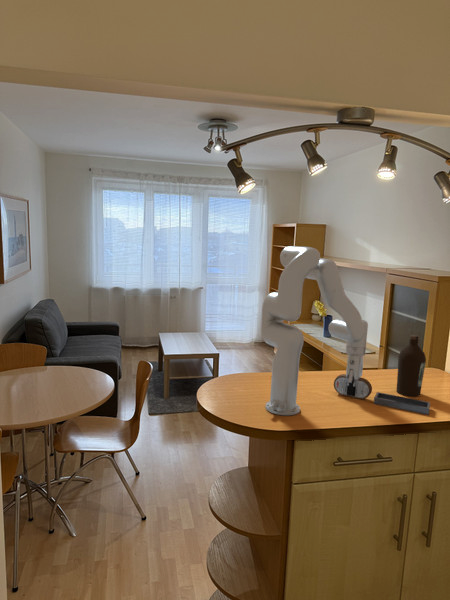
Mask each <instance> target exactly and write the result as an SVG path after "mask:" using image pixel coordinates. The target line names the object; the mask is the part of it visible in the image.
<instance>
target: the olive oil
mask: <svg viewBox="0 0 450 600" xmlns="http://www.w3.org/2000/svg"><path fill="white" fill-rule="evenodd" d="M419 337H420V336H419V335H416V334H411V335H410V338H409V344H408V345H406V346H405V347H404V348H403V349H401V350H400V351H399V354H398V358H397V359H398V362H397V376H396V377H397V378H396V380H397V381H396V391H395V392H396V393H397V394H400V396H401V395H402V396H403V397H408V398H409V397H410V398H411V397H412V398H416V397H417V398H418V397H420V396H421V392H422V387H423V386H422V385H423V380H424V374H425V368H426V364H427V363H426V361H427V357H426V354H425V352H424V351H423V350H422V349H421V347H420V346H419V341H420V339H419Z"/></svg>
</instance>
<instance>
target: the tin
mask: <svg viewBox="0 0 450 600" xmlns="http://www.w3.org/2000/svg"><path fill="white" fill-rule="evenodd" d="M353 378H354V377H353ZM352 381H353V382H354V380H352ZM347 385H348V379H347V378H346V373H343V374H339V375H338V376H336V377H335V379H334V381H333V388H334V390H335V391H336V393H338V394H339V395H341V396H345V397H349V398H355V399H358V400H365V399H367V398H368V397H369V396H370V395H371V394H372V392H373V387H372V384H371V382H370V381H369V380H368V379H366V378H364V377H360V379H359V380H356V382H355V386H356V390H355V396H351V395H347Z"/></svg>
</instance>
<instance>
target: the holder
mask: <svg viewBox="0 0 450 600" xmlns="http://www.w3.org/2000/svg"><path fill="white" fill-rule="evenodd" d="M373 404H374V405H377V406H378V405H379V406H383V407H387V408H392V409H397V410H398V409H399V410H402V411H406V412H412V413H417V414H422V415H427V416H429V413H430V408H431V407H430V406H431V401H425V400H421V399H414V398H411V397H410V398H409V397H406V396H401V395H400V396H399V395H394V394H389V393H385V392H379V391H376V394H375V395H374V398H373Z"/></svg>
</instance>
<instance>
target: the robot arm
mask: <svg viewBox="0 0 450 600" xmlns="http://www.w3.org/2000/svg"><path fill="white" fill-rule="evenodd" d="M279 259H280V260H279V261H280V264H281V265H282V266H283V267H284V269H283V270H282V272H281V273H280V276H279V280H278V289H277V291H273V292H270V293H268V294H267V295H266V296H265V298H264V299H263V302H262V308H261V331H260V332H261V337H262V339H263V342H265V343H266V344H267V345H269V346H271V347H274V348H275V349H276V351H275V354H274V355H273V359H272V364H271V382H270V383H271V384H270V397H269V401H267V402H266V403H265V409H266V411H268V412H270V413H271V414H275V415H278V416H295V415H297V414H299V413H300V411H301V407H300V405H298V403H297V398H298V397H297V395H298V381H299V369H300V368H299V367H300V359H301V358H300V357H301V353H302V349H303V346H304V343H305V342H304V341H305V338H304V334H303V332H302V330H301V329H299V327H297V326H295V325H292V324H289V323H286V322H295V321H297V320H298V319H299V318H300V317H301V314H302V303H303V288H304V283H305V279H308V280H315V281H316V282H317V285H318V288H319V291H320V295H321V298H322V301H323V303H324V304H325V305H326V306H327V307H329V308H330V309H331V310H332V311H334V312H336V313H337V314H338V315H339V316H340V317H341V318H336V319H333V320H332V321H330V323H329V324H328V332H329V335H331V336H332V337H334V338H336V339H340V340H343V341H346V344H345V345H346V346H345V354H347V360H346V361H347V362H346V371H345V374H346V378H347V379H348V385H347V395H351V396H355V390H356V386H355V382H356V380H359V379H360V378H362V376H363V372H364V371H363V368H364V357H365V356H366V349H367V342H368V328H369V324H368V322H367V320H364V319H362V316H361V313H360V312H359V309H358V308H357V307H356V305H355V304H354V303H353V302H352V301H351V300H350V299H349V297H348V296H347V295H346V293H345V290H344V286H343V282H342V279H341V275H340V273H339V268H338V266H337V263H336V262H335V261H334V260H332V259H329V258H322V257H321V253H320V251H319V250H318V249H317V248H315V247H311V246H298V245H297V246H296V245H289V246H286V247H284V248H283V249H282V250H281V252H280V255H279ZM353 377H354V378H353ZM352 380H354V382H353V381H352Z"/></svg>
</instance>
